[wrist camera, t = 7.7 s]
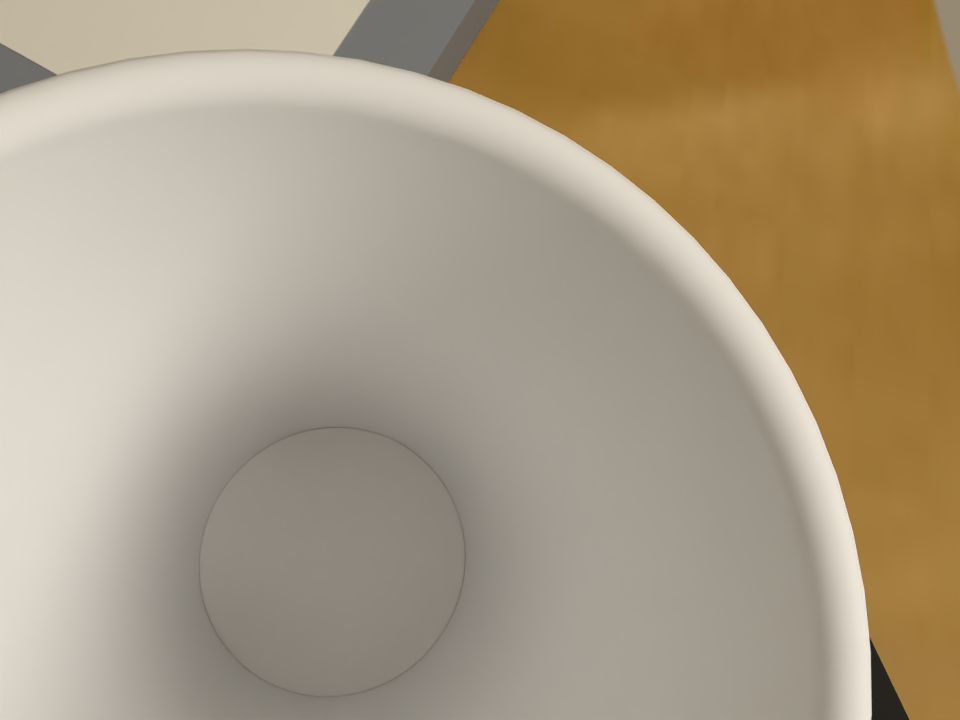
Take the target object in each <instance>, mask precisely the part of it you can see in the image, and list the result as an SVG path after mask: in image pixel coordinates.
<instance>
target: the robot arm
mask: <svg viewBox="0 0 960 720" xmlns="http://www.w3.org/2000/svg"><path fill="white" fill-rule="evenodd" d="M869 640H870V650H871V701H872V716H871V720H909V718H908V716H907V714H906V712H905V710H904V708H903V706H902V704H901V702H900V699H899V697H898V695H897V693H896V691H895V689H894V687H893V685H892V683H891V681H890V679H889V677H888V674H887V672H886V670H885V668H884V666H883V664H882V662H881V660H880V658H879V656H878V654H877V652H876V650H875V647H874V645H873V643H872V641H871V639H870V637H869Z"/></svg>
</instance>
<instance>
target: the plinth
mask: <svg viewBox="0 0 960 720" xmlns="http://www.w3.org/2000/svg"><path fill="white" fill-rule="evenodd" d="M498 1H499V0H0V94H1V93H3V92H6V91H8V90H11V89H14V88H17V87H20V86H24V85H27V84H30V83H33V82H37V81H40V80H43V79H46V78H50V77H53V76H56V75H59V74H63V73H66V72H69V71H73V70H78V69H83V68H87V67H92V66H97V65H101V64H106V63H111V62H115V61H120V60H125V59H129V58H137V57H145V56H153V55H161V54H169V53H177V52H185V51H205V50H231V49H258V50H279V51H299V52H309V53H317V54H324V55H331V56H338V57H346V58H353V59H360V60H364V61H369V62H373V63H377V64H382V65H386V66H391V67H395V68H399V69H404V70H408V71H412V72H416V73H419V74H422V75H425V76H428V77H431V78H435V79H438V80H441V81H444V82H447V83H448V81H449V80H450V78H451V76H452V75H453V73H454V72H455V70H456V68H457V67H458V65H459V64H460V62H461V60H462V59H463V57H464V56H465V54H466V52H467V51H468V49H469V47H470V46H471V44H472V43H473V41H474V39H475V38H476V36H477V35H478V33H479V31H480V30H481V28H482V27H483V25H484V23H485V22H486V20H487V19H488V17H489V15H490V14H491V12H492V11H493V9H494V7H495V6H496V4H497V3H498Z"/></svg>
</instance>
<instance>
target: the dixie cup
mask: <svg viewBox="0 0 960 720" xmlns="http://www.w3.org/2000/svg"><path fill="white" fill-rule="evenodd" d="M871 716H872V701H871V650H870V640H869V631H868V621H867V612H866V602H865V592H864V587H863V581H862V576H861V571H860V566H859V561H858V556H857V550H856V545H855V540H854V535H853V531H852V527H851V524H850V520H849V517H848V513H847V510H846V506H845V503H844V499H843V496H842V492H841V489H840V485H839V482H838V478H837V475H836V472H835V470H834V467H833V465H832V462H831V459H830V457H829V454H828V452H827V449H826V446H825V444H824V441H823V439H822V436H821V433H820V431H819V428H818V426H817V423H816V421H815V419H814V417H813V415H812V413H811V411H810V409H809V407H808V404H807V402H806V400H805V398H804V396H803V394H802V392H801V390H800V388H799V386H798V384H797V382H796V380H795V378H794V376H793V374H792V372H791V370H790V368H789V367H788V365H787V363H786V362H785V360H784V358H783V357H782V355H781V353H780V352H779V350H778V349H777V347H776V345H775V344H774V342H773V340H772V339H771V337H770V335H769V334H768V332H767V330H766V329H765V327H764V325H763V324H762V322H761V321H760V320H759V318H758V317H757V316H756V314H755V313H754V311H753V310H752V309H751V307H750V306H749V305H748V303H747V302H746V300H745V299H744V298H743V296H742V295H741V294H740V292H739V291H738V290H737V288H736V287H735V285H734V284H733V283H732V281H731V280H730V279H729V278H728V276H727V275H726V274H725V273H724V272H723V271H722V270H721V268H720V267H719V266H718V265H717V264H716V263H715V262H714V261H713V259H712V258H711V257H710V256H709V255H708V254H707V253H706V251H705V250H704V249H703V248H702V247H701V246H700V245H699V243H698V242H697V241H696V240H695V239H694V238H693V237H692V236H691V235H690V234H689V233H688V232H687V231H686V230H685V229H684V228H683V227H682V226H681V225H680V224H678V223H677V222H676V221H675V220H674V219H673V218H672V217H671V216H670V215H669V214H668V213H667V212H666V211H665V210H664V209H663V208H662V207H661V206H660V205H659V204H657V203H656V202H655V201H654V200H653V199H652V198H651V197H649V196H648V195H647V194H646V193H644V192H643V191H642V190H641V189H639V188H638V187H637V186H635V185H634V184H633V183H632V182H630V181H629V180H628V179H627V178H625V177H624V176H623V175H622V174H620V173H619V172H618V171H617V170H615V169H614V168H613V167H612V166H610V165H609V164H607V163H605V162H604V161H602V160H601V159H599V158H598V157H596V156H595V155H593V154H592V153H590V152H589V151H587V150H586V149H584V148H583V147H581V146H580V145H578V144H577V143H575V142H574V141H572V140H570V139H569V138H567V137H566V136H564V135H562V134H560V133H558V132H557V131H555V130H553V129H551V128H549V127H547V126H545V125H544V124H542V123H540V122H538V121H536V120H534V119H532V118H530V117H529V116H527V115H525V114H523V113H521V112H519V111H517V110H515V109H513V108H510V107H508V106H506V105H503V104H501V103H499V102H496V101H494V100H492V99H489V98H487V97H485V96H482V95H480V94H477V93H475V92H473V91H470V90H468V89H465V88H462V87H459V86H456V85H453V84H450V83H447V82H444V81H441V80H438V79H435V78H431V77H428V76H425V75H422V74H419V73H416V72H412V71H408V70H404V69H399V68H395V67H391V66H386V65H382V64H377V63H373V62H369V61H364V60H360V59H353V58H346V57H338V56H331V55H324V54H317V53H309V52H299V51H279V50H258V49H231V50H205V51H185V52H177V53H169V54H161V55H153V56H145V57H137V58H129V59H125V60H120V61H115V62H111V63H106V64H101V65H97V66H92V67H87V68H83V69H78V70H73V71H69V72H66V73H63V74H59V75H56V76H53V77H50V78H46V79H43V80H40V81H37V82H33V83H30V84H27V85H24V86H20V87H17V88H14V89H11V90H8V91H6V92H3V93H1V94H0V720H871Z"/></svg>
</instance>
